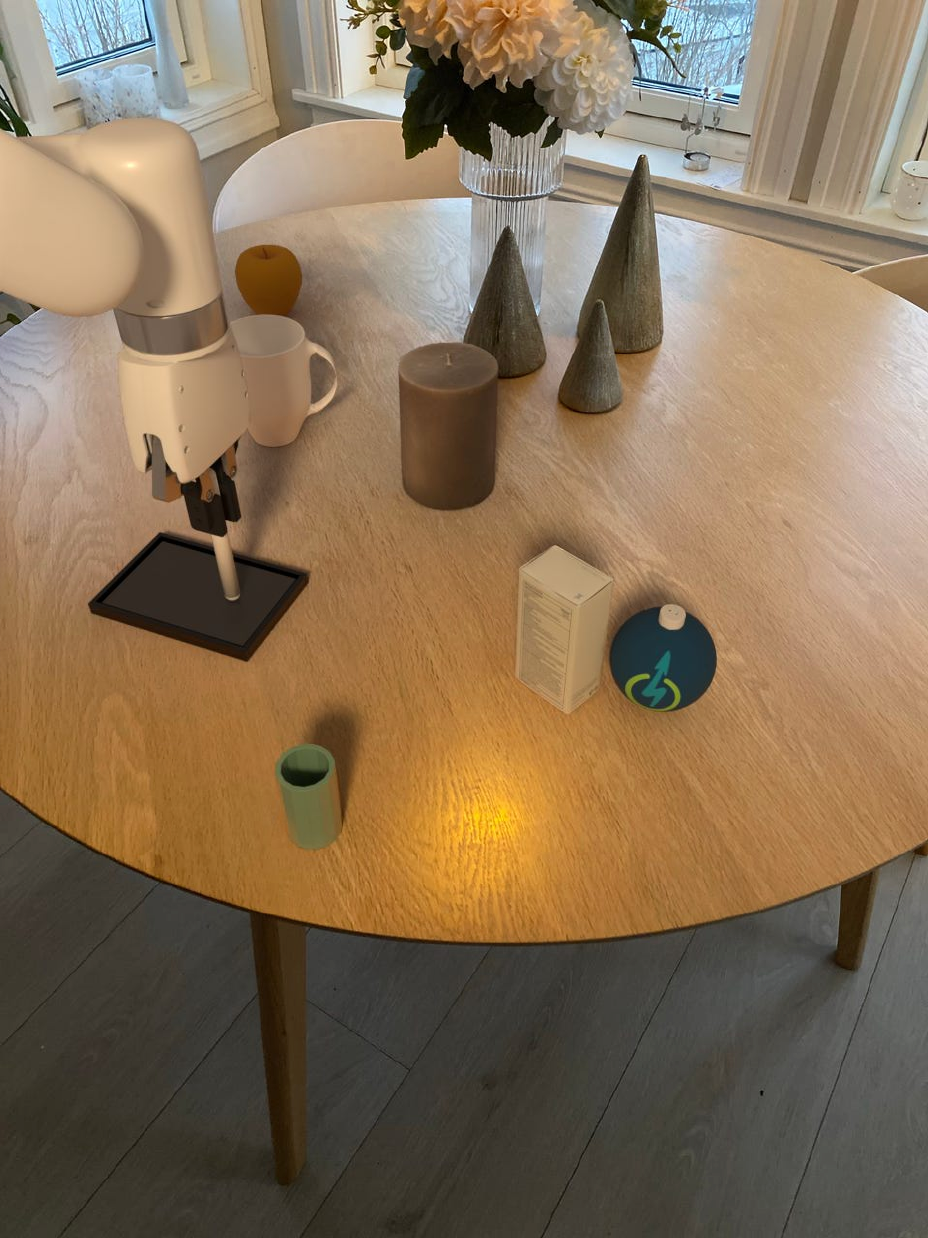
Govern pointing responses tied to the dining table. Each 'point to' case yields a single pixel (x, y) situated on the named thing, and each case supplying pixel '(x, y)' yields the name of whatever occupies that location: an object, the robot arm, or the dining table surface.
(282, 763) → the pen pot
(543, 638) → the cosmetic box
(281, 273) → the apple
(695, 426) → the dining table surface
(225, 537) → the stylus
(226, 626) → the screen
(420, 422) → the pillar candle
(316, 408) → the mug
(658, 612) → the christmas ornament
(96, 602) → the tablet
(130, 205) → the robot arm
